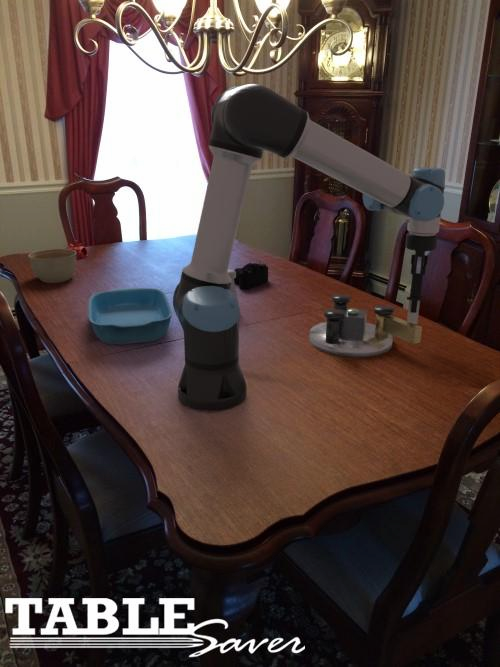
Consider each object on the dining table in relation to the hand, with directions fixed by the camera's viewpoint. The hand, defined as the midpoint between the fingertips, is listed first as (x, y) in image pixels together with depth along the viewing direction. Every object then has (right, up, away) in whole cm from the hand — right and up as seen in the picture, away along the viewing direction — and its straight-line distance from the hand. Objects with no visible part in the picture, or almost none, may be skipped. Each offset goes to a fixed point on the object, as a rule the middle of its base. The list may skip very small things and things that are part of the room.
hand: (411, 322), depth 145 cm
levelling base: (-15, -5, +5) cm, 17 cm away
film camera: (-43, +14, +53) cm, 70 cm away
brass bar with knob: (-5, -5, -2) cm, 7 cm away
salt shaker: (-49, +4, +27) cm, 56 cm away
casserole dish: (-77, -1, +14) cm, 78 cm away
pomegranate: (-114, +26, +83) cm, 143 cm away
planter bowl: (-112, +15, +54) cm, 126 cm away
